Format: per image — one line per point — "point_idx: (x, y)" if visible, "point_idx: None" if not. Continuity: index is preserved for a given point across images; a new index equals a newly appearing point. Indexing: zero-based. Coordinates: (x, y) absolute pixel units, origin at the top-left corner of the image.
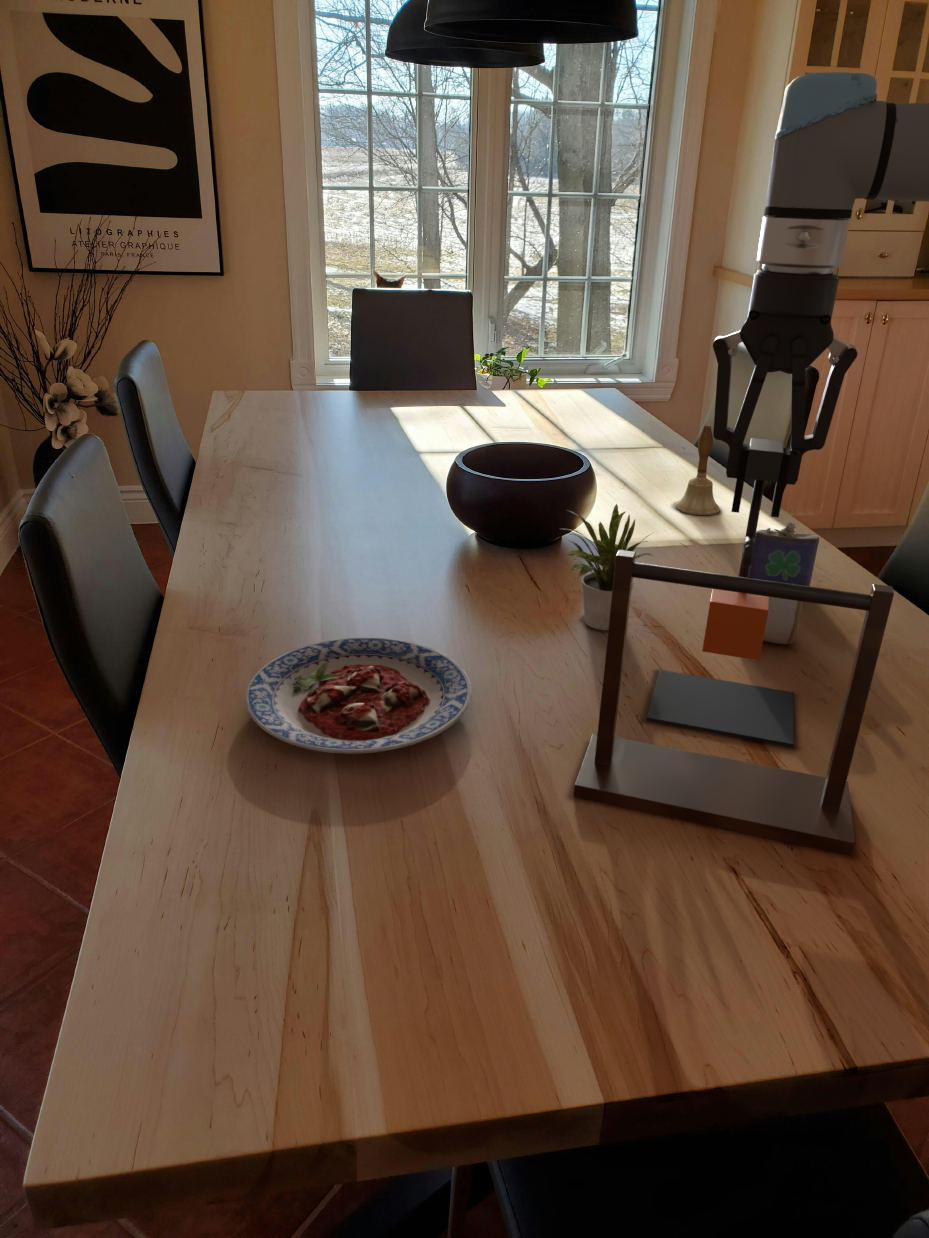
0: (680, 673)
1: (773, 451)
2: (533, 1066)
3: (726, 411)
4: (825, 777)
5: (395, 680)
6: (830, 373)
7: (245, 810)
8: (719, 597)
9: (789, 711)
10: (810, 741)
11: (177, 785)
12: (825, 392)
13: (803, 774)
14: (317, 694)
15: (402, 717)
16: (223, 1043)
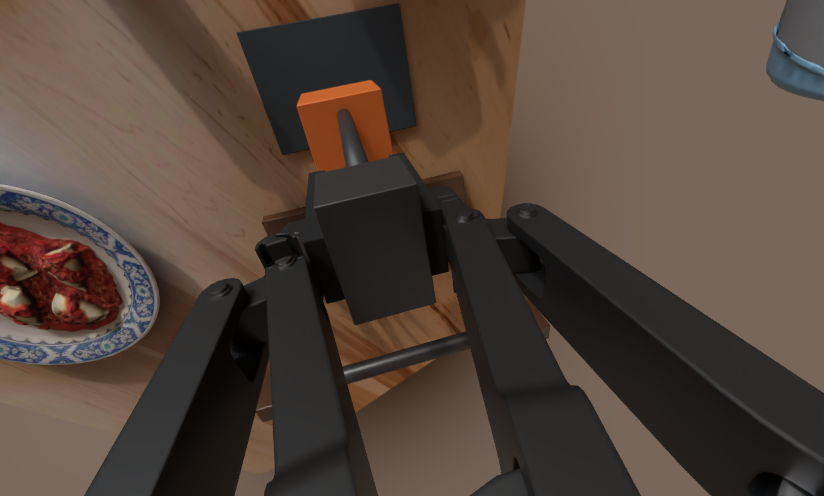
0: (264, 29)
1: (412, 307)
2: (365, 394)
3: (253, 410)
4: (447, 178)
5: (20, 241)
6: (706, 456)
7: (129, 388)
8: (327, 166)
9: (403, 59)
10: (428, 104)
11: (66, 399)
12: (622, 389)
13: (431, 184)
14: (12, 318)
15: (104, 287)
16: (266, 440)
